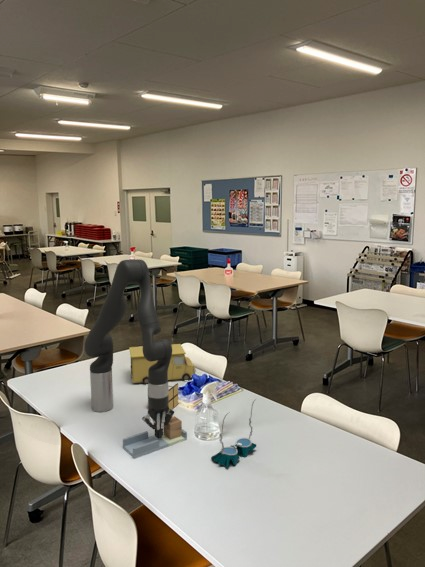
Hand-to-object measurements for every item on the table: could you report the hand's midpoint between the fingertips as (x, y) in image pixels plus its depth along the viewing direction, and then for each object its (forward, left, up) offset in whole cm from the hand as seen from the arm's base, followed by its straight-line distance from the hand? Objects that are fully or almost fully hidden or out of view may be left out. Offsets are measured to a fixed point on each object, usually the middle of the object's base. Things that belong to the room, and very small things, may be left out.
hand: (158, 437), depth 169 cm
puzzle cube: (-26, +18, -2) cm, 31 cm away
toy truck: (-57, +35, -2) cm, 67 cm away
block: (0, +6, -1) cm, 6 cm away
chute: (0, -1, -2) cm, 3 cm away
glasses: (+24, +17, -2) cm, 29 cm away
